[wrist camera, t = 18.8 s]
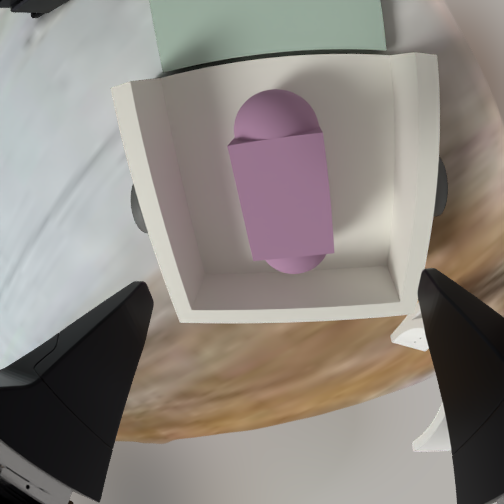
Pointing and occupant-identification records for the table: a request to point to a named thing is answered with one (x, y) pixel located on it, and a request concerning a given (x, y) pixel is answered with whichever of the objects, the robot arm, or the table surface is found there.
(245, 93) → the wagon bed
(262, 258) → the dome-topped mauve block
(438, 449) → the headphone stand
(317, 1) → the panel
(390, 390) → the table surface
